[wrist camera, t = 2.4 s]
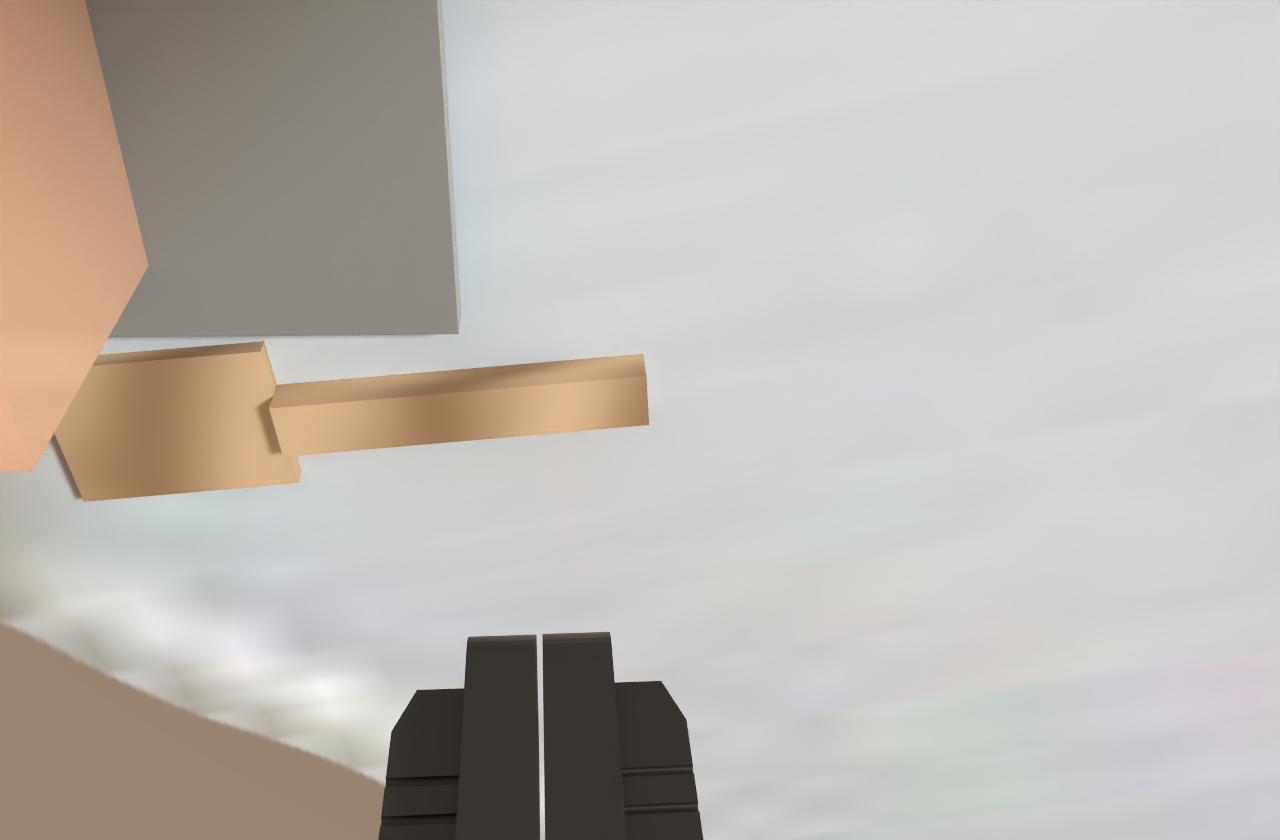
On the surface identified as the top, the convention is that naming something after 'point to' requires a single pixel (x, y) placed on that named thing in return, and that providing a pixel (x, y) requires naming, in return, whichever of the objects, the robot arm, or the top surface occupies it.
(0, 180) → the tile
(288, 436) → the turner
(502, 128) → the top surface
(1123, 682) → the top surface
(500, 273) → the top surface
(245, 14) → the board
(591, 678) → the robot arm
